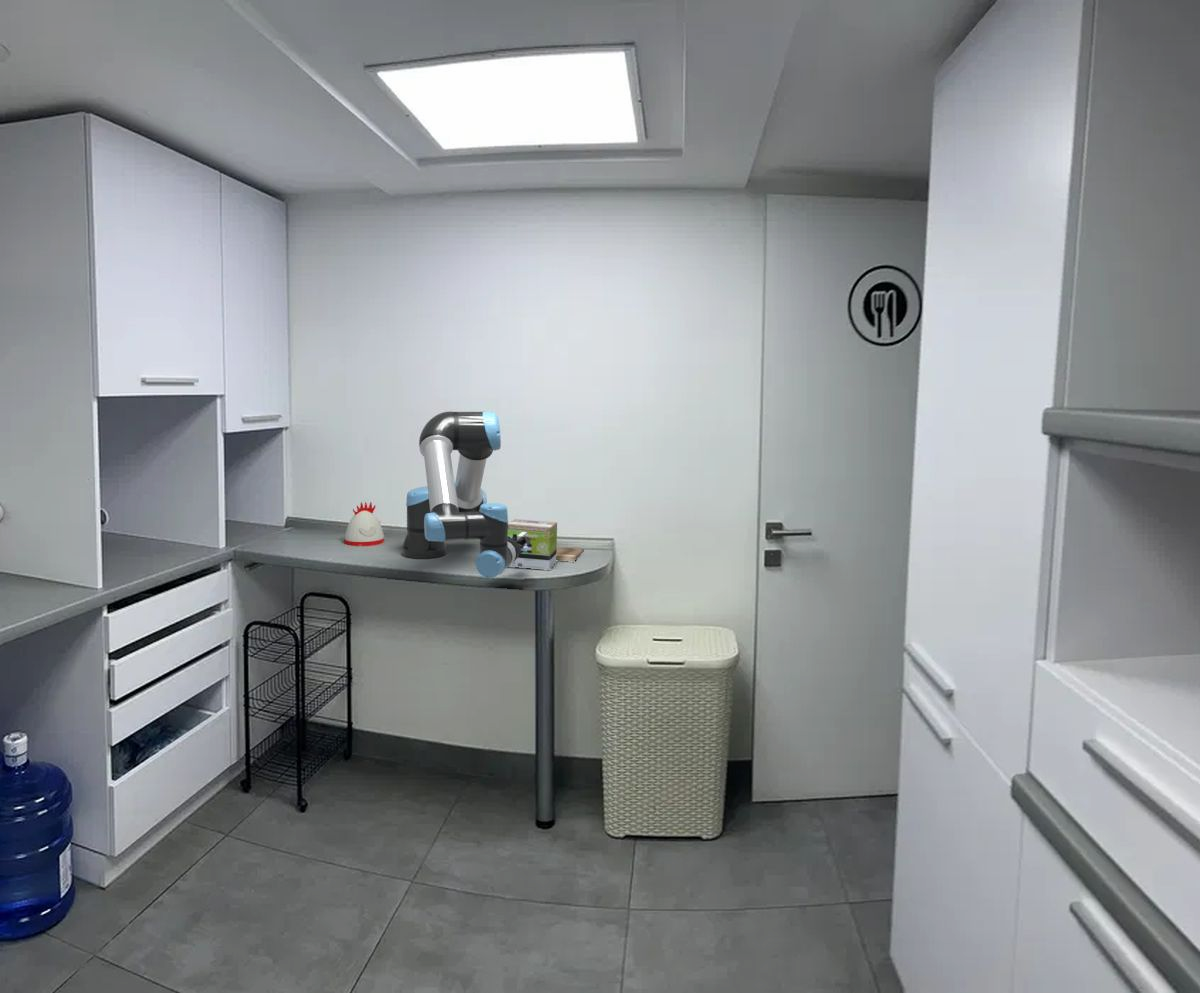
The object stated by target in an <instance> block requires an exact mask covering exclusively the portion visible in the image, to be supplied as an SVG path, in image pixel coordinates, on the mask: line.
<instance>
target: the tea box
mask: <svg viewBox="0 0 1200 993" xmlns="http://www.w3.org/2000/svg"><path fill="white" fill-rule="evenodd" d="M522 532H527V537H529V538H530V543H531V544H532V553H528V552H525V551H523V553H520V554H519V556H518V558H517V559H516V560H515V561H514V562H513V563H512V564H510V565H509V566H508V567H507V568H515V567H519V568H518V569H526V568H531V569H530V570H535V569H547V570H549V569H550V568H551V567H552V566H553V565H554V564H555V563H556V564H557V561H556V550H557V547H558V546H557V545H558V543H557V542H558V541H557V540H558V521H557V522H556V521H547V520H546V521H544V520H532V519H519V518H514V519H513V520H511V521H510V522H508V536H509V537H510V538H512V537H513V534H517V536H518V535H519V534H520V533H522ZM556 564H555V565H556ZM555 565H554V566H555ZM554 566H553V567H554ZM553 567H552V568H553ZM552 568H551V569H552ZM551 569H550V570H551ZM550 570H549V571H550Z"/></svg>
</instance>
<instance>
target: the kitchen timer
mask: <svg viewBox="0 0 1200 993" xmlns="http://www.w3.org/2000/svg"><path fill="white" fill-rule="evenodd" d="M364 502H365V501H364ZM372 506H373V507H372ZM376 506H377V505H376V504H375V505H373V504H372V502H371V501H370V503H369V505H368V503H367V502H365V503H364V505H363V502H362V501H361V502H360V506H358V505H356V508H357V511H356V510H355V509H354V508H352V512H353V513H354V515H353V516H352V517H351V519H350V520H349V522H348V524H347V527H346V530H345V534H344V544H345V545H347V546H352V547H371V546H377V545H378V546H379V545H381V544H384V543H385V535H384V531H383V527H382V525H381V520H379V519H378V518H377V516H375V514H373V513H374V511H375V509H376Z"/></svg>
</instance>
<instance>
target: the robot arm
mask: <svg viewBox="0 0 1200 993" xmlns="http://www.w3.org/2000/svg"><path fill="white" fill-rule="evenodd" d="M500 427H501V426H500V421H499V416H498V415H497V413H496V412H493V411H492V412H489V411H444V412H441V413H438V414H436V415H434V416H433V417H432V418H430V420H428V422H426V424H425V425H424V427H423V429H422V430H421V433H420V436H419V440H418V443H419V444H418V445H419V446H418V447H419V452H420V454H421V455H422V457H424V458H423V460H424V467H425V476H426V484H427V486H420V487H416V488H413V489H410V490H409V491H408V492H407V493H406V503H405V506H406V535H405V538H404V540H403V543H402V544H403V545H402V547H401V555H402V556H403V557H405V558H410V559H434V558H439V557H443V556H445V555H447V553H448V552H447V545H446V542H453V541H476V540H479V553H478V556H477V557H476V558H475V568H476V569H475V570H476V571H477V573H478V574H479V575H481V576H482V577H483V578H488V579H493V578H495V577H497V576H499V575H501V574H503V572H505V570H506V569H507V568H509V567H508V566H509V565H510V564H512V563H513V562H514V561H515V560H516V559H517V558H518V556H519V554H520V553H523V551H525V552H528V553H532V544H531V543H530V538H529V537H527V532H522V533H520V534H519V535H518V536H517V534H513V537H512V538H510V537H509V536H508V524H509V519H508V517H509V514H508V508H507V506H506V505H505V504H503V503H498V502H497V503H496V502H489V503H488V500H487V494H486V491H485V490H484V489H482V487H481V486H482V482H483V478H484V477H483V476H484V473H485V468H486V463H487V459H488V458H489V457H491V455H492V454H493V451H498V450H501V444H502V441H501V429H500ZM453 451H457V452H458V453H459V458H458V462H457V469H456V470H457V471H456V477H455V475H454V470H453V469H454V468H453V462H452V455H451V454H452V453H453Z"/></svg>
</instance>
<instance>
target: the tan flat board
mask: <svg viewBox="0 0 1200 993" xmlns="http://www.w3.org/2000/svg"><path fill="white" fill-rule="evenodd" d="M584 551H585V550H584V548H578V547H576V548H575V547H574V548H573V547H562V546H557V550H556V560H558V561H557V562H560V561H575V560H576V559H577V558H578V557H579V558H580V557H581V555H582V554H583V553H584ZM581 553H582V554H581ZM579 558H578V559H579ZM578 559H577V560H578ZM577 560H576V561H577ZM576 561H575V562H576Z"/></svg>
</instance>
